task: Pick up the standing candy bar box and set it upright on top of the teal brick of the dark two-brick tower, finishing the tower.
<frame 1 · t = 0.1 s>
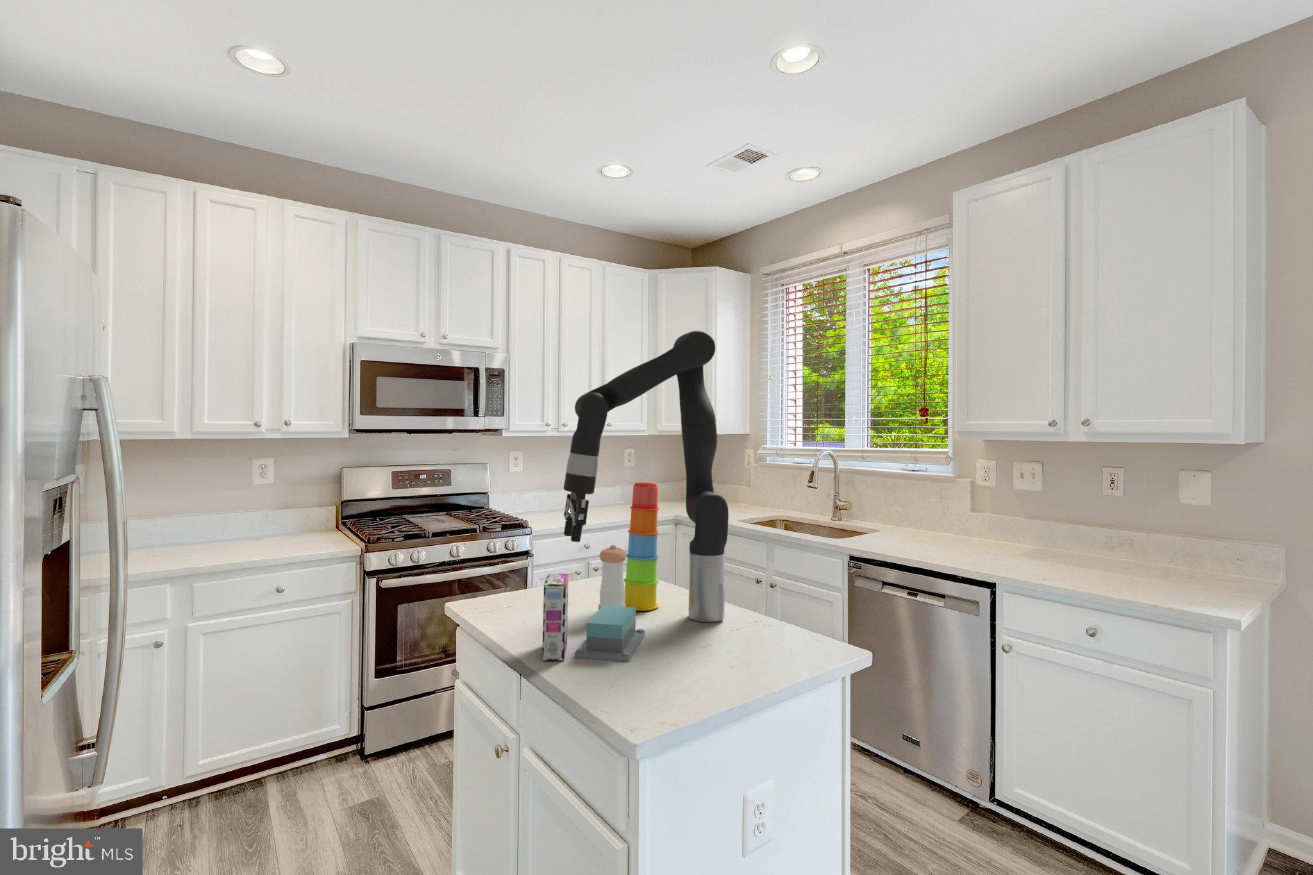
hand: (571, 538, 154), 23 cm above the counter, tool pointing down, fingers open, 8 cm apart
stacking cups: (640, 607, 175), on the counter
pepper shaker: (612, 619, 164), on the counter
candy bar box: (555, 653, 138), on the counter
brick tower: (611, 645, 143), on the counter
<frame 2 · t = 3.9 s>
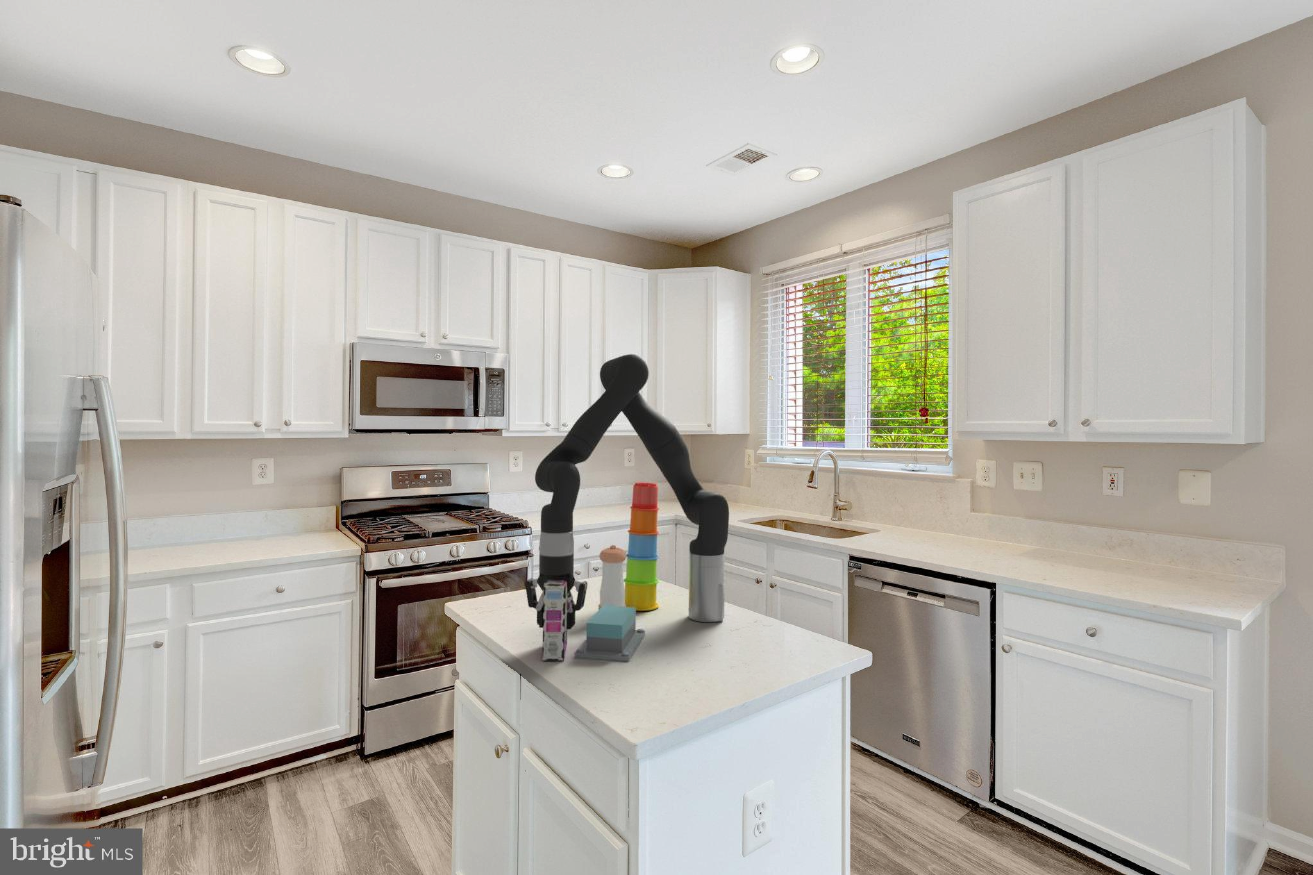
hand: (555, 627, 138), 6 cm above the counter, tool pointing down, fingers closed on candy bar box, 5 cm apart
candy bar box: (555, 653, 138), on the counter, touching gripper
everything else where it was.
when the fingers open (14 cm above the counter, at t = 9.5 s): candy bar box drops 1 cm, resting on brick tower.
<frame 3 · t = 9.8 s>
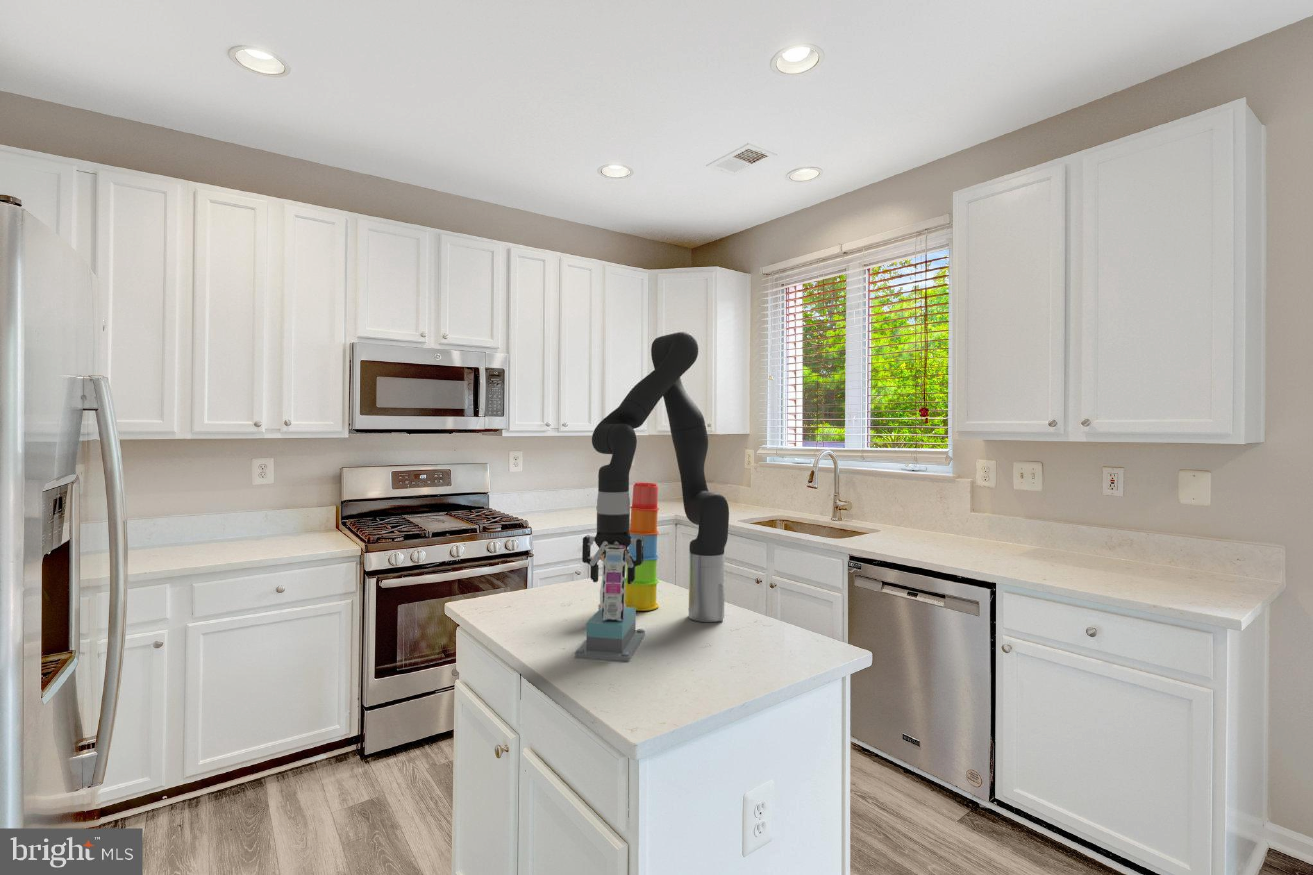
hand: (612, 582, 143), 14 cm above the counter, tool pointing down, fingers open, 7 cm apart
candy bar box: (613, 615, 143), point 7 cm above the counter, touching brick tower
everything else where it was.
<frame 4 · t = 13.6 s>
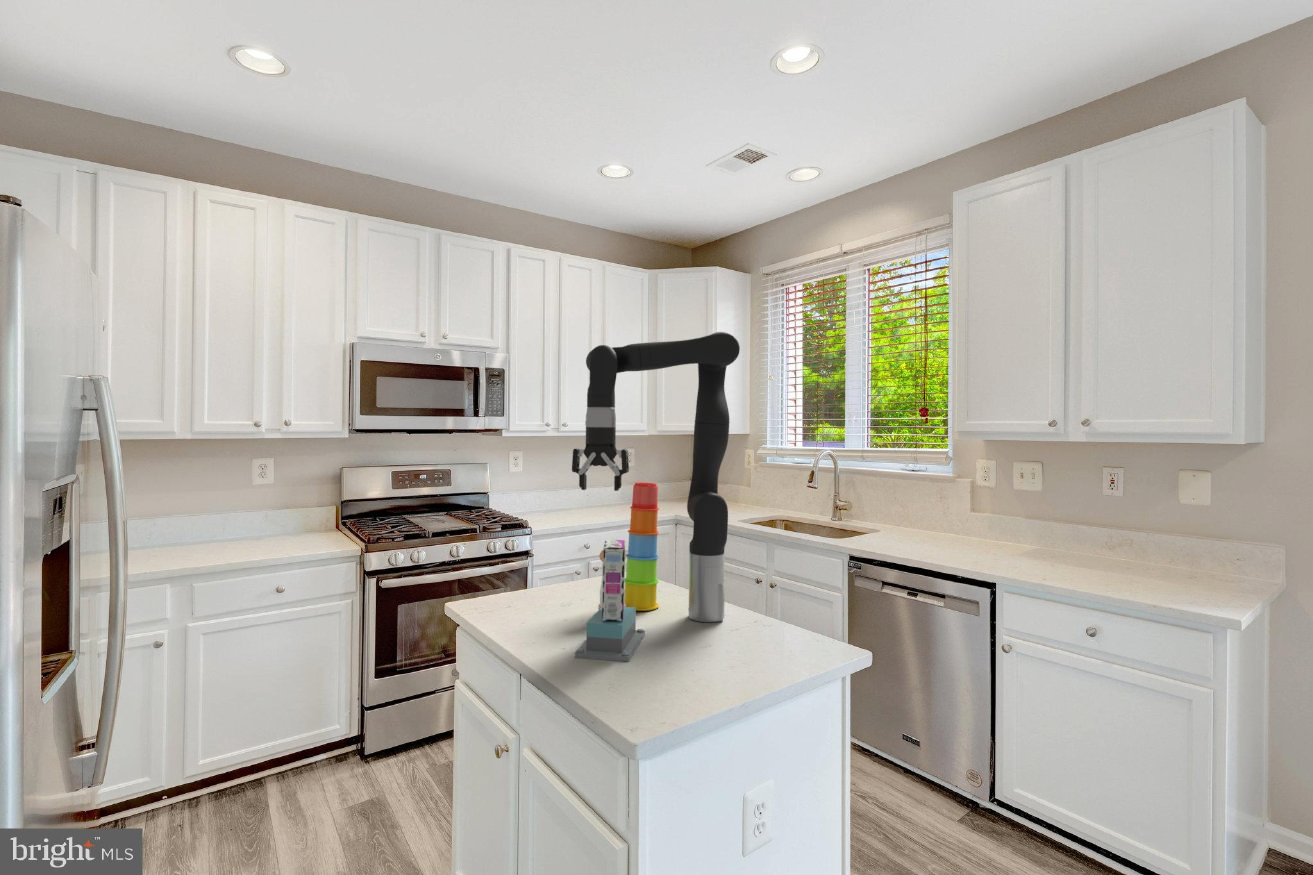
hand: (600, 490, 158), 34 cm above the counter, tool pointing down, fingers open, 8 cm apart
nothing on the counter moved.
at the end: candy bar box 0.3 cm off-centre on the brick tower, point 6.8 cm above the brick tower's base; candy bar box tilted 0°; the gripper is holding nothing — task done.
